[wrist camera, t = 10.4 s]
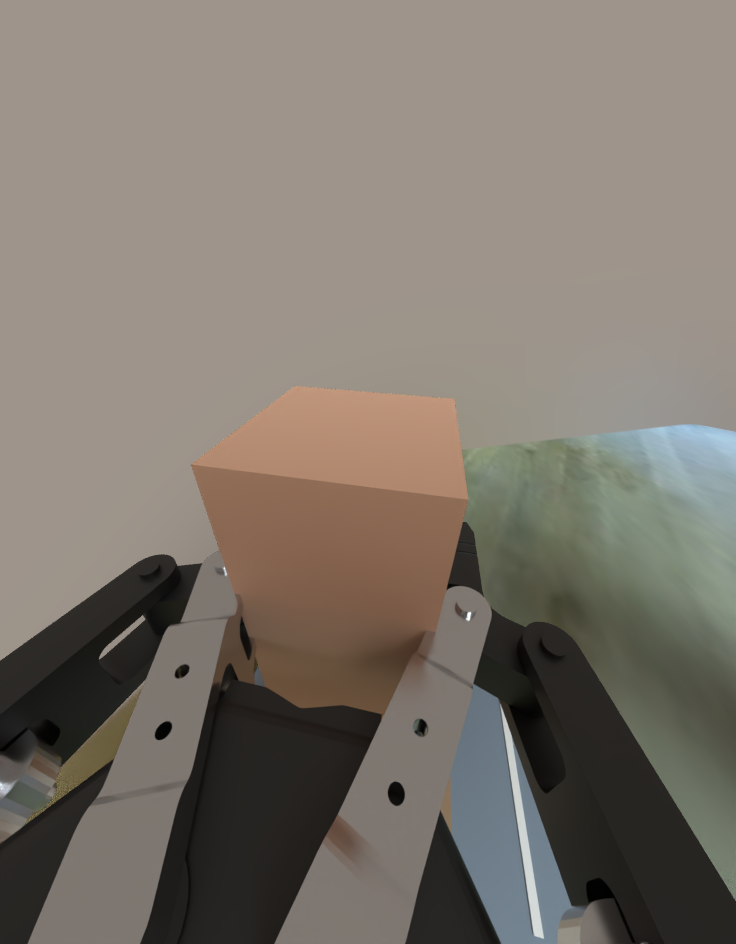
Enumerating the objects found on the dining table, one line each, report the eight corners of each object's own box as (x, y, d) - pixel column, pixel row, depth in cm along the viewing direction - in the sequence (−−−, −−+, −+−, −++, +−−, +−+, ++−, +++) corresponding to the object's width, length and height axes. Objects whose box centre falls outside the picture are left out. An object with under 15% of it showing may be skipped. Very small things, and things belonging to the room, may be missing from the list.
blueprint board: (562, 673, 23) (583, 644, 21) (689, 1080, 11) (766, 1110, 9) (284, 619, 26) (277, 589, 24) (163, 891, 15) (128, 881, 13)
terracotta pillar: (413, 629, 16) (454, 399, 9) (405, 757, 11) (468, 499, 5) (319, 611, 16) (295, 386, 10) (278, 725, 12) (190, 464, 6)
